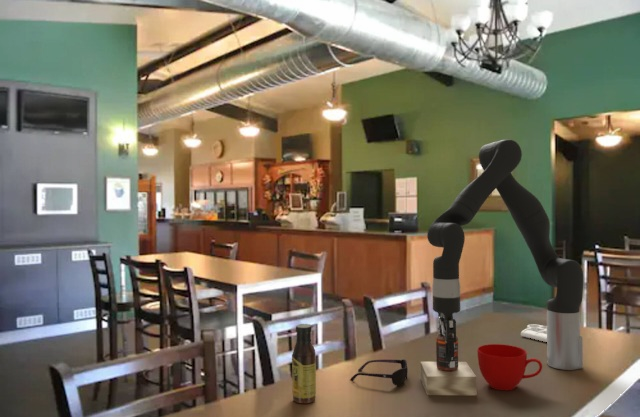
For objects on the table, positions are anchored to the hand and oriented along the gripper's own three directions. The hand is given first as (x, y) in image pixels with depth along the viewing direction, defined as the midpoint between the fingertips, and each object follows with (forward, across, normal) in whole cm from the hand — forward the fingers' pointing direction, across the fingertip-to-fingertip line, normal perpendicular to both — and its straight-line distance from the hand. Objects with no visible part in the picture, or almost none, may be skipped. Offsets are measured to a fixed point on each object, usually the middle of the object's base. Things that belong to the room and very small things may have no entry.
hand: (447, 352), depth 145 cm
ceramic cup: (+10, 0, -17) cm, 20 cm away
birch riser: (+10, 0, 0) cm, 10 cm away
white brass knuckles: (+10, +53, -46) cm, 71 cm away
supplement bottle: (+5, 0, 0) cm, 5 cm away
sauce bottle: (+10, -11, +39) cm, 42 cm away
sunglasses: (+10, +7, +18) cm, 22 cm away
